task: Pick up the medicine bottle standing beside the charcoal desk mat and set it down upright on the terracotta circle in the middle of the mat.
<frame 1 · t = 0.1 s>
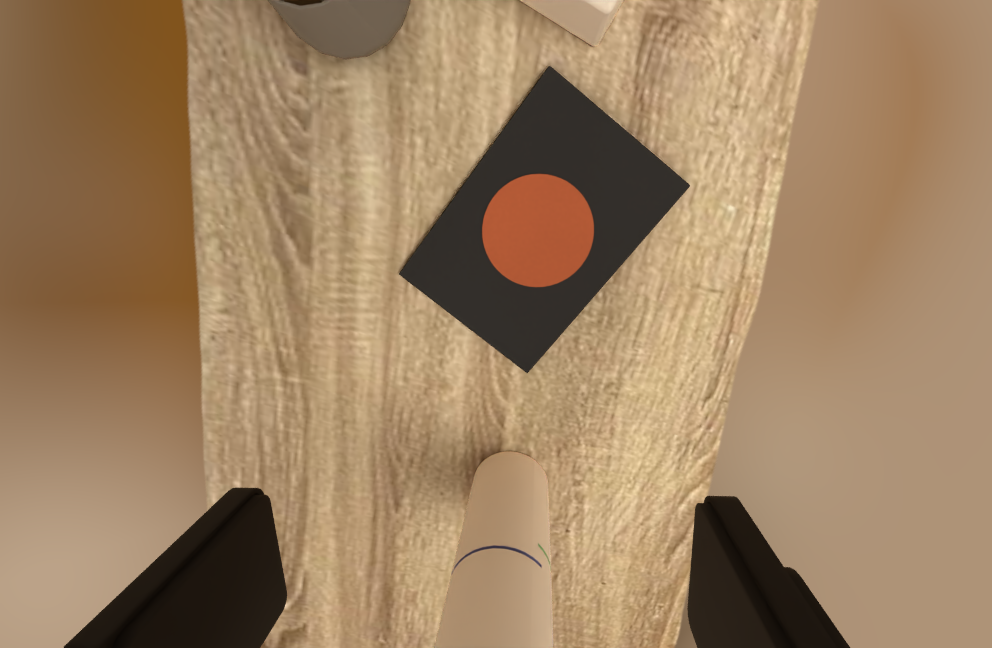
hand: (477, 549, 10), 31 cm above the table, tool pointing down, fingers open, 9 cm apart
mat: (537, 231, 39), on the table
cylindrical container: (510, 483, 45), on the table
cup: (363, 4, 36), on the table
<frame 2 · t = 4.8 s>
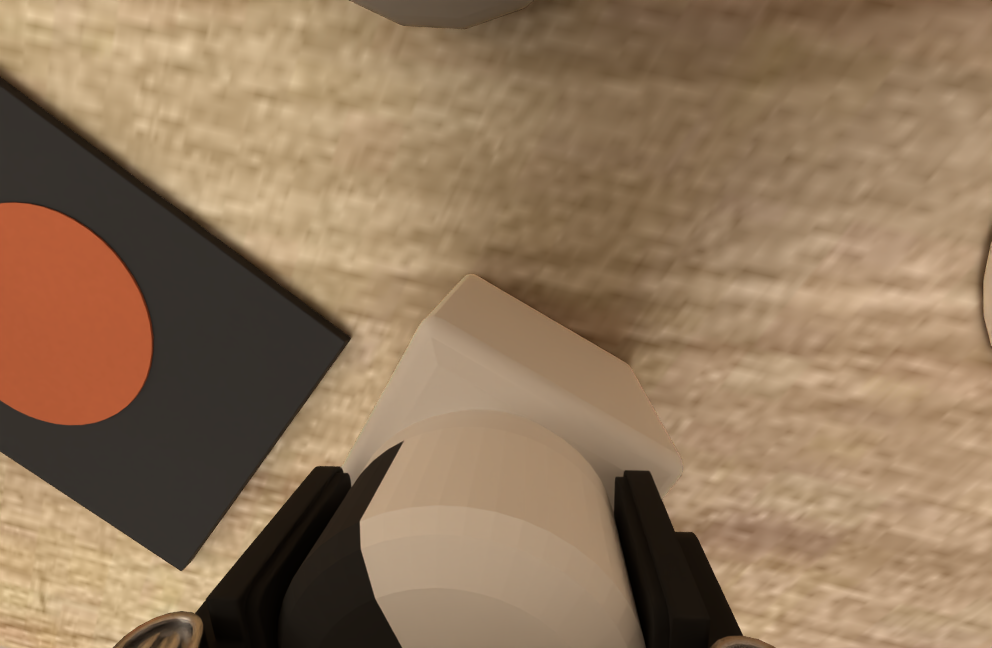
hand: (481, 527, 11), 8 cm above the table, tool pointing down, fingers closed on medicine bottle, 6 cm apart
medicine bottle: (504, 391, 19), on the table, touching gripper
mat: (59, 316, 19), on the table
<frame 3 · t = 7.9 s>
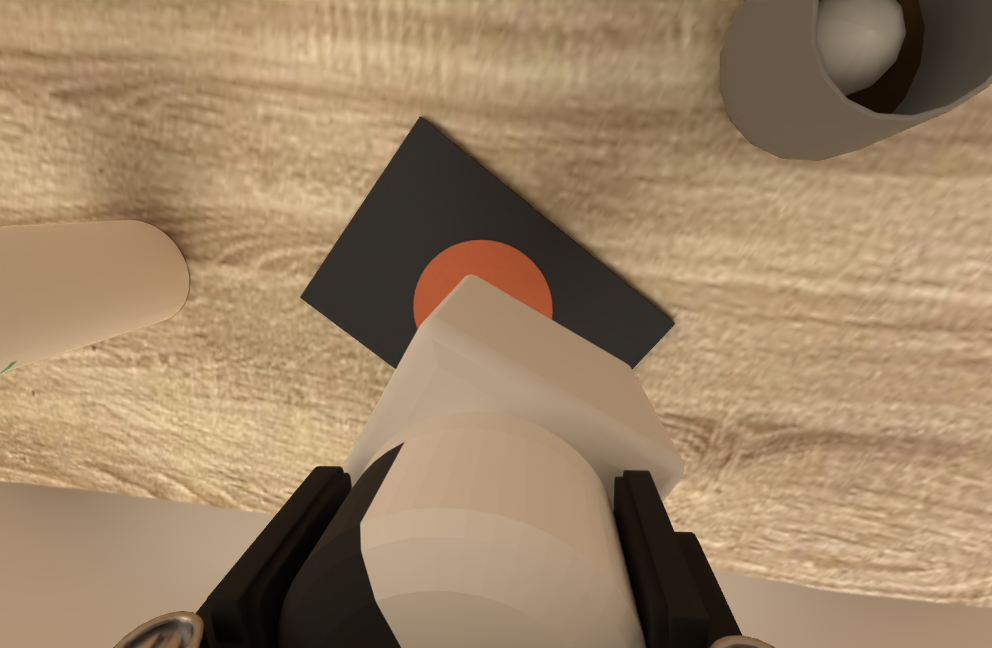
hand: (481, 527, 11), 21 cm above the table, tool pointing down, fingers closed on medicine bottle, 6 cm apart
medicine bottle: (504, 392, 19), point 13 cm above the table, touching gripper
mat: (483, 308, 31), on the table
cylindrical container: (142, 272, 33), on the table
cup: (782, 77, 27), on the table
when the fingers open (9 cm above the table, at t = 11.2 s): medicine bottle stays where it is, resting on mat.
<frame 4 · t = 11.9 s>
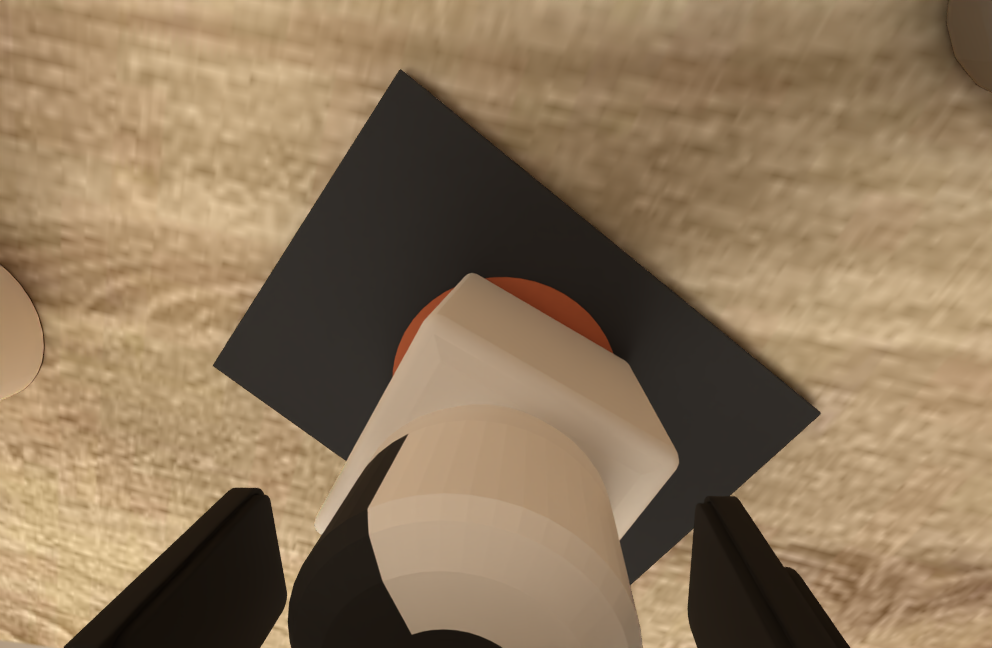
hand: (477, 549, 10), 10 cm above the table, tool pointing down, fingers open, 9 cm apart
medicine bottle: (504, 388, 19), point 1 cm above the table, touching mat
mat: (504, 383, 20), on the table
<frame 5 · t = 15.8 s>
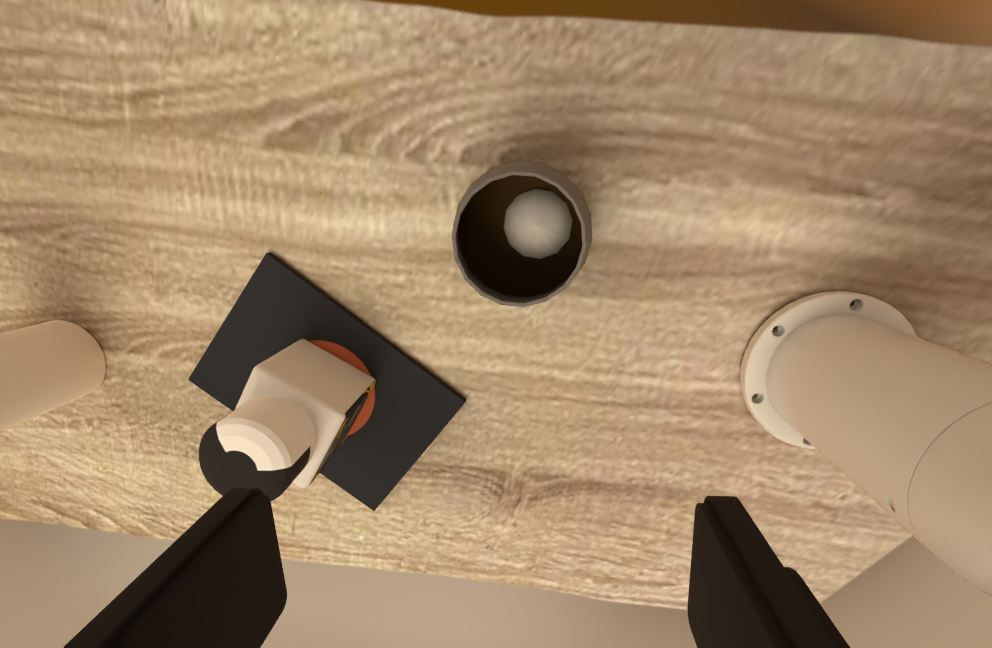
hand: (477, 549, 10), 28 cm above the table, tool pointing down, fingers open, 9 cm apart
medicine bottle: (324, 390, 41), point 1 cm above the table, touching mat
mat: (326, 388, 41), on the table
cylindrical container: (70, 357, 43), on the table
cup: (523, 229, 36), on the table
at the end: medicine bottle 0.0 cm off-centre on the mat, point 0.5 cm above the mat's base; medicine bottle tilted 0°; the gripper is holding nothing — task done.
